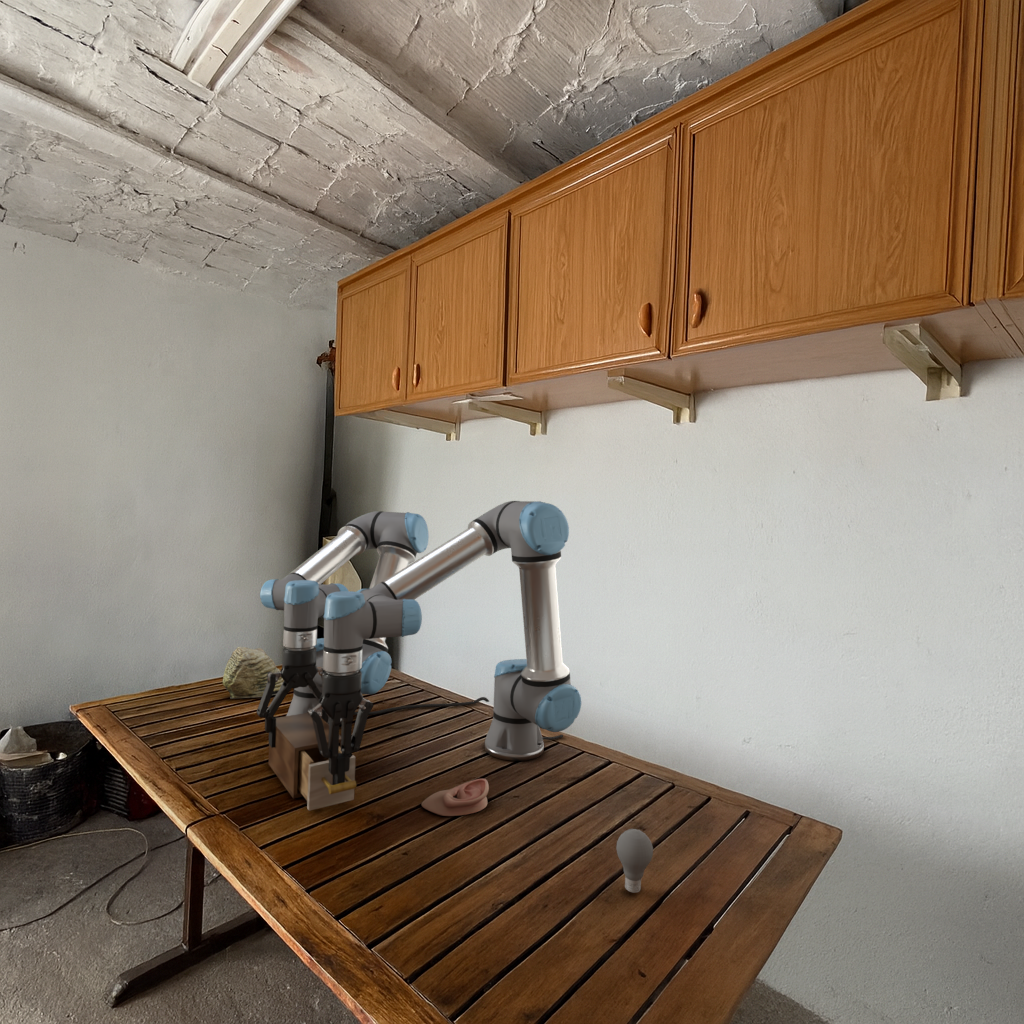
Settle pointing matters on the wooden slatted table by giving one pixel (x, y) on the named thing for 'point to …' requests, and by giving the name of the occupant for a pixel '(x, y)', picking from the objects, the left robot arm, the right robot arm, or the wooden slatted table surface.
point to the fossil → (249, 673)
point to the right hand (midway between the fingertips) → (338, 788)
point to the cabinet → (293, 747)
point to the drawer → (323, 780)
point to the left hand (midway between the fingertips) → (296, 741)
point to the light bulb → (634, 857)
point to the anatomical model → (459, 799)
